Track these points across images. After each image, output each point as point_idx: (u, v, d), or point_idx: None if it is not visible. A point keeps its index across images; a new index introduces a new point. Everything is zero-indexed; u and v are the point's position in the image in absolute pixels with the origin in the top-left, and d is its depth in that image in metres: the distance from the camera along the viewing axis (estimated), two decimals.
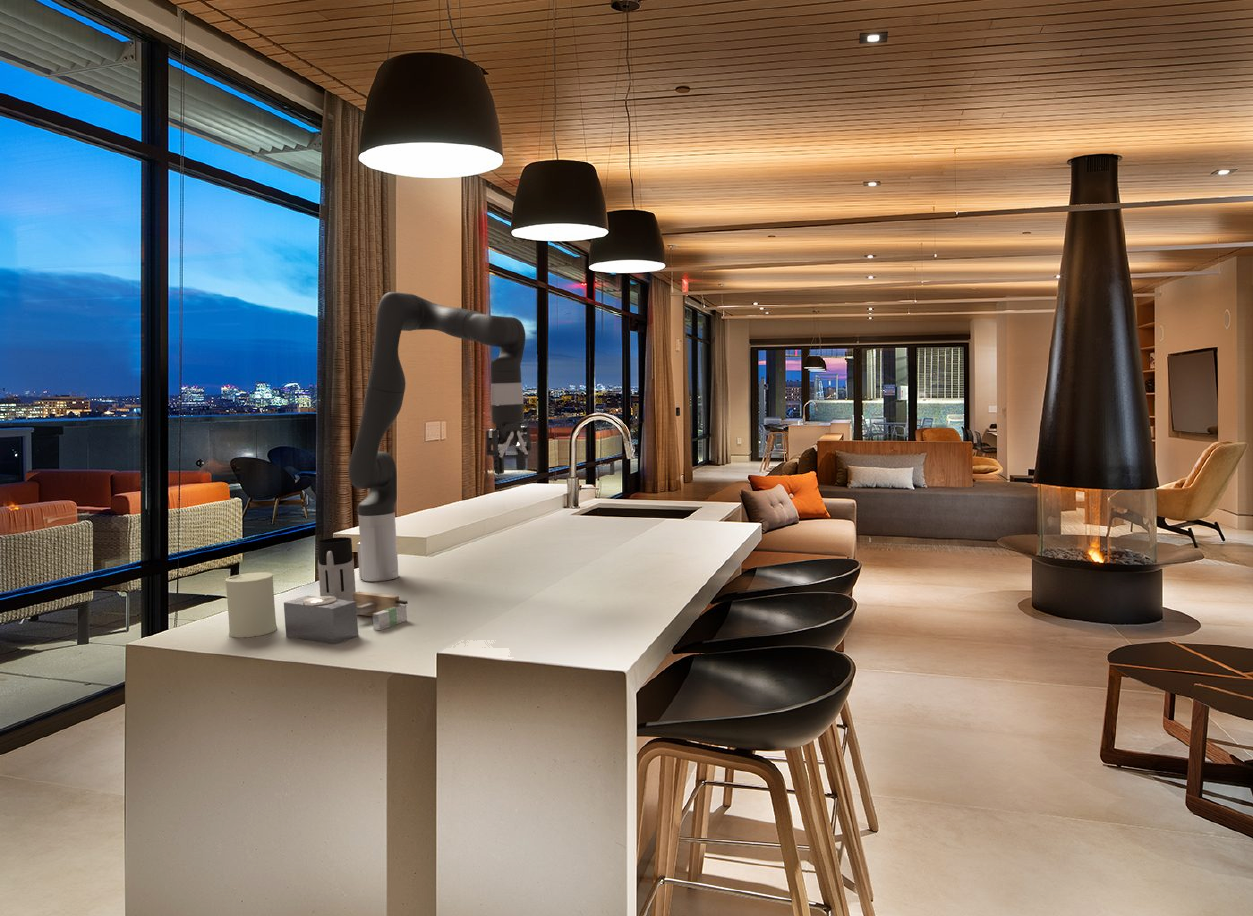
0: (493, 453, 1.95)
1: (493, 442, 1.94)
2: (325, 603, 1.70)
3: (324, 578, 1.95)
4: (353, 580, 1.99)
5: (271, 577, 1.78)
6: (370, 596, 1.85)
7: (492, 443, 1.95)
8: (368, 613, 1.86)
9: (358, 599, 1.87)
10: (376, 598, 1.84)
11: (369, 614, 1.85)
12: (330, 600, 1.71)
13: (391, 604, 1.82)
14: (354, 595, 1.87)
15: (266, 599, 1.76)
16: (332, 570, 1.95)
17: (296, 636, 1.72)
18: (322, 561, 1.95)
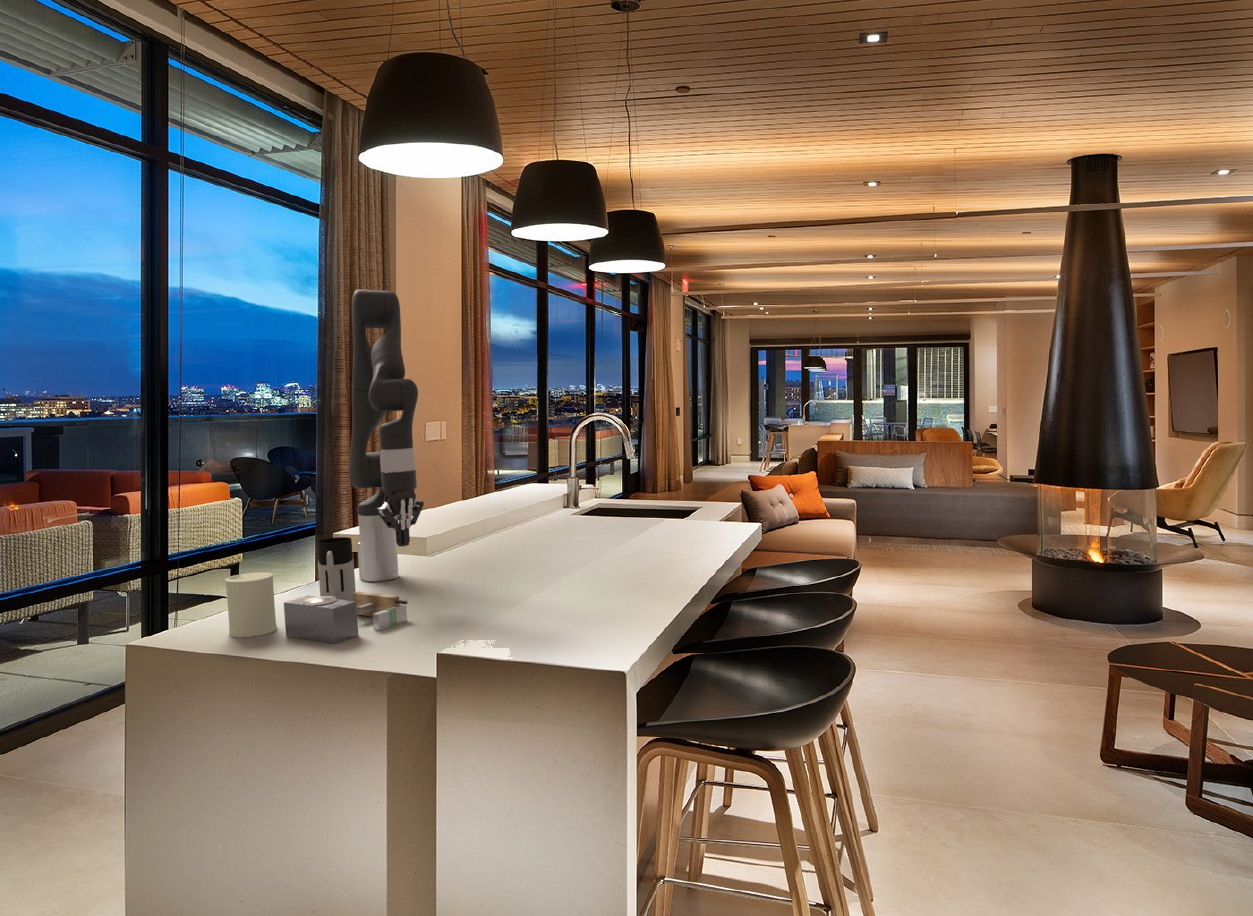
0: (394, 526, 1.89)
1: (389, 520, 1.87)
2: (325, 603, 1.70)
3: (324, 578, 1.95)
4: (353, 580, 1.99)
5: (271, 577, 1.78)
6: (370, 596, 1.85)
7: (389, 520, 1.88)
8: (368, 613, 1.86)
9: (358, 599, 1.87)
10: (376, 598, 1.84)
11: (369, 614, 1.85)
12: (330, 600, 1.71)
13: (391, 604, 1.82)
14: (354, 595, 1.87)
15: (266, 599, 1.76)
16: (332, 570, 1.95)
17: (296, 636, 1.72)
18: (322, 561, 1.95)
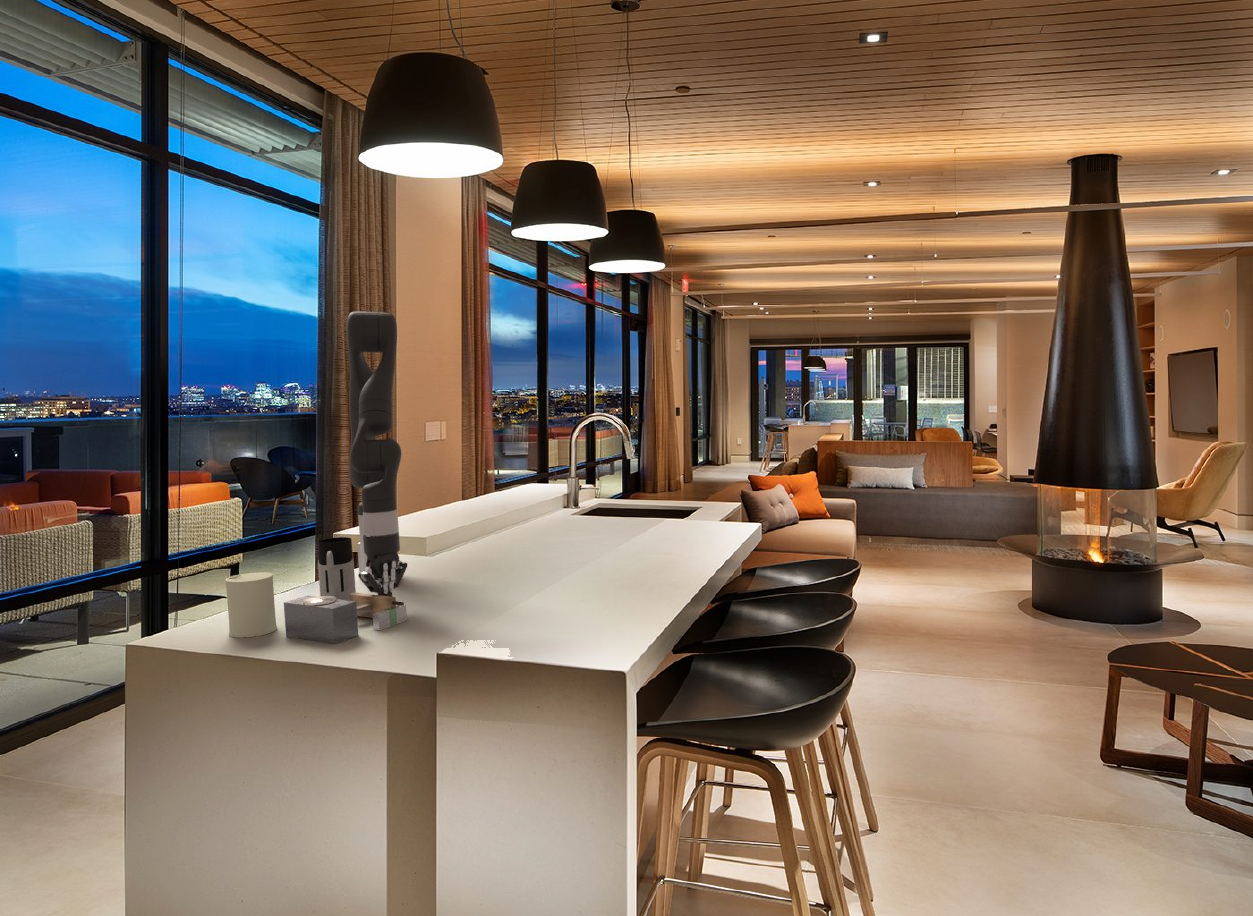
0: (376, 590, 1.84)
1: (371, 585, 1.83)
2: (325, 603, 1.70)
3: (324, 578, 1.95)
4: (353, 580, 1.99)
5: (271, 577, 1.78)
6: (367, 597, 1.84)
7: (371, 585, 1.83)
8: (365, 614, 1.85)
9: (355, 600, 1.86)
10: (373, 599, 1.83)
11: (366, 615, 1.85)
12: (330, 600, 1.71)
13: (388, 605, 1.81)
14: (350, 596, 1.86)
15: (266, 599, 1.76)
16: (332, 570, 1.95)
17: (296, 636, 1.72)
18: (322, 561, 1.95)
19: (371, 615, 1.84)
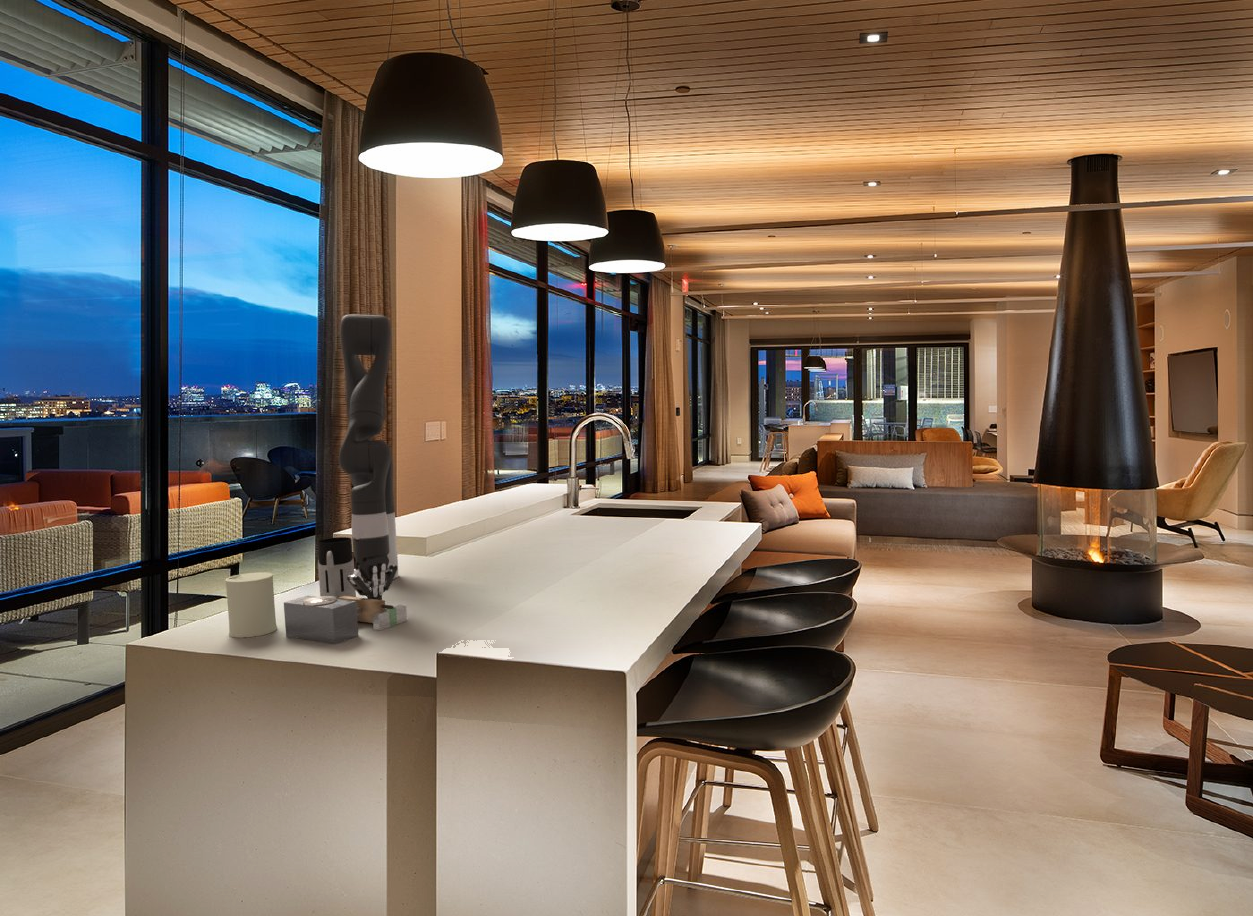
0: (365, 594, 1.81)
1: (360, 588, 1.80)
2: (325, 603, 1.70)
3: (324, 578, 1.95)
4: None
5: (271, 577, 1.78)
6: (356, 600, 1.81)
7: (360, 588, 1.80)
8: None
9: None
10: (362, 603, 1.80)
11: None
12: (330, 600, 1.71)
13: (377, 608, 1.78)
14: (340, 599, 1.84)
15: (266, 599, 1.76)
16: (332, 570, 1.95)
17: (296, 636, 1.72)
18: (322, 561, 1.95)
19: (361, 619, 1.81)
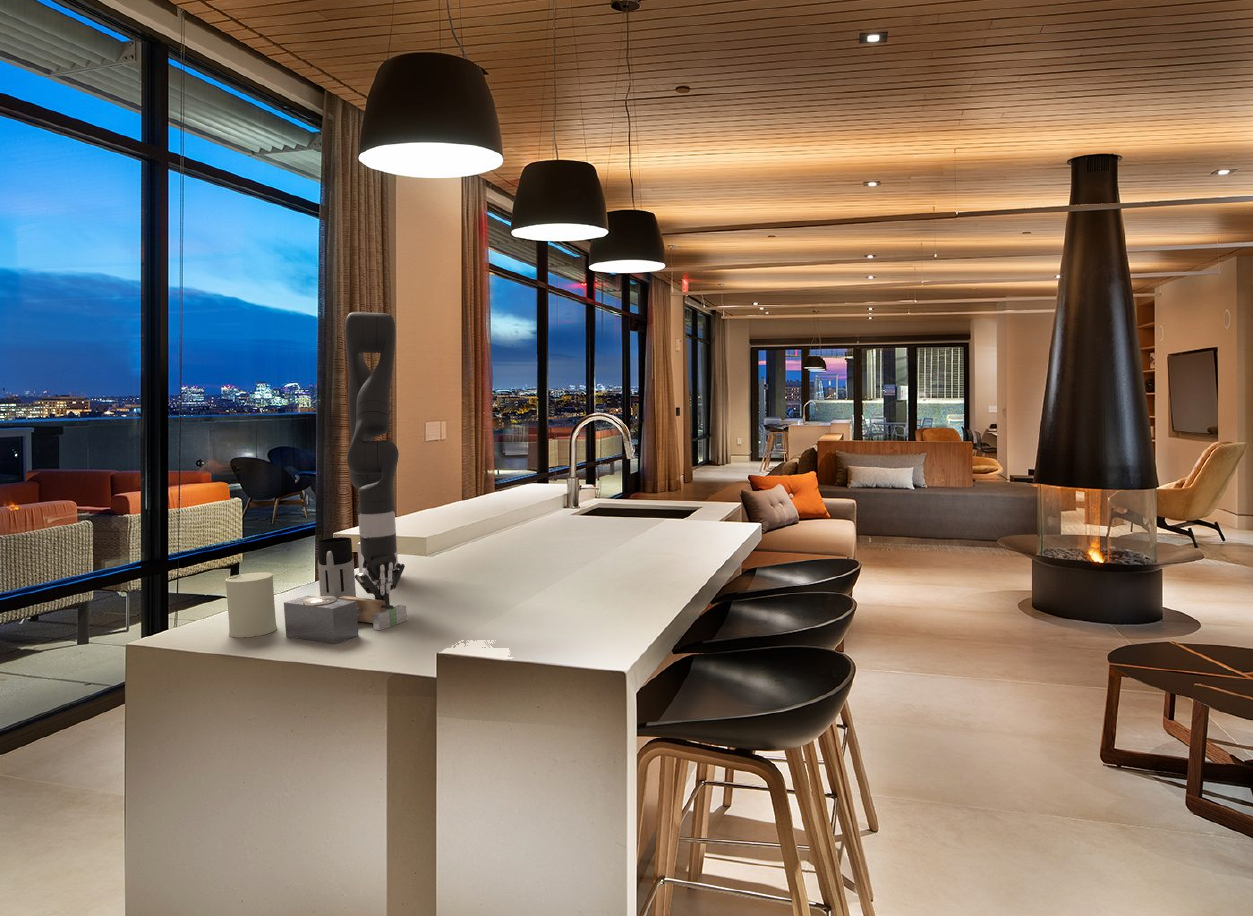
0: (373, 592, 1.84)
1: (368, 586, 1.82)
2: (325, 603, 1.70)
3: (324, 578, 1.95)
4: (353, 580, 1.99)
5: (271, 577, 1.78)
6: (356, 600, 1.81)
7: (367, 587, 1.83)
8: None
9: None
10: (362, 603, 1.80)
11: None
12: (330, 600, 1.71)
13: (377, 609, 1.78)
14: None
15: (266, 599, 1.76)
16: (332, 570, 1.95)
17: (296, 636, 1.72)
18: (322, 561, 1.95)
19: (360, 619, 1.81)
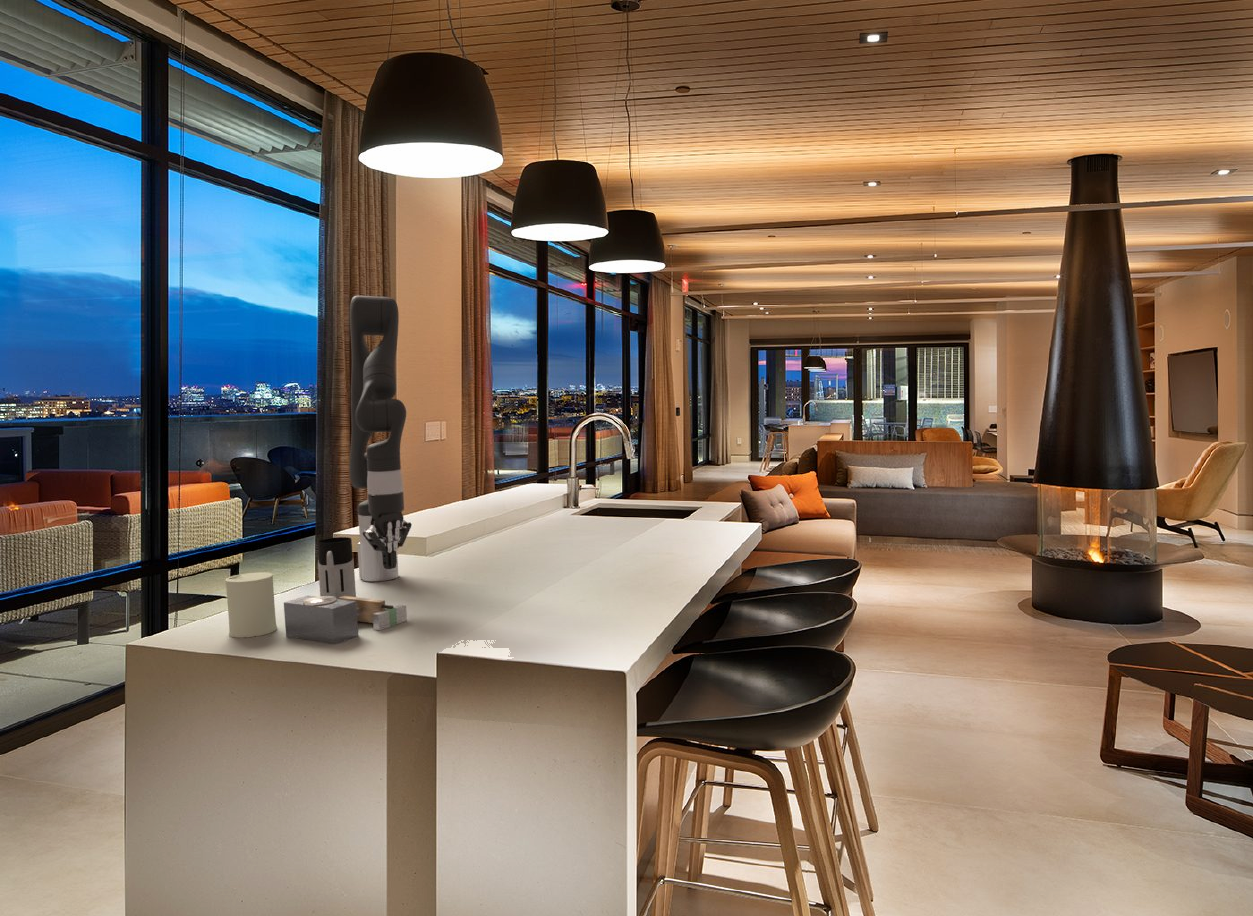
0: (380, 549, 1.86)
1: (375, 543, 1.84)
2: (325, 603, 1.70)
3: (324, 578, 1.95)
4: (353, 580, 1.99)
5: (271, 577, 1.78)
6: (356, 600, 1.81)
7: (375, 543, 1.85)
8: None
9: None
10: (362, 603, 1.80)
11: None
12: (330, 600, 1.71)
13: (377, 609, 1.78)
14: None
15: (266, 599, 1.76)
16: (332, 570, 1.95)
17: (296, 636, 1.72)
18: (322, 561, 1.95)
19: (360, 619, 1.81)
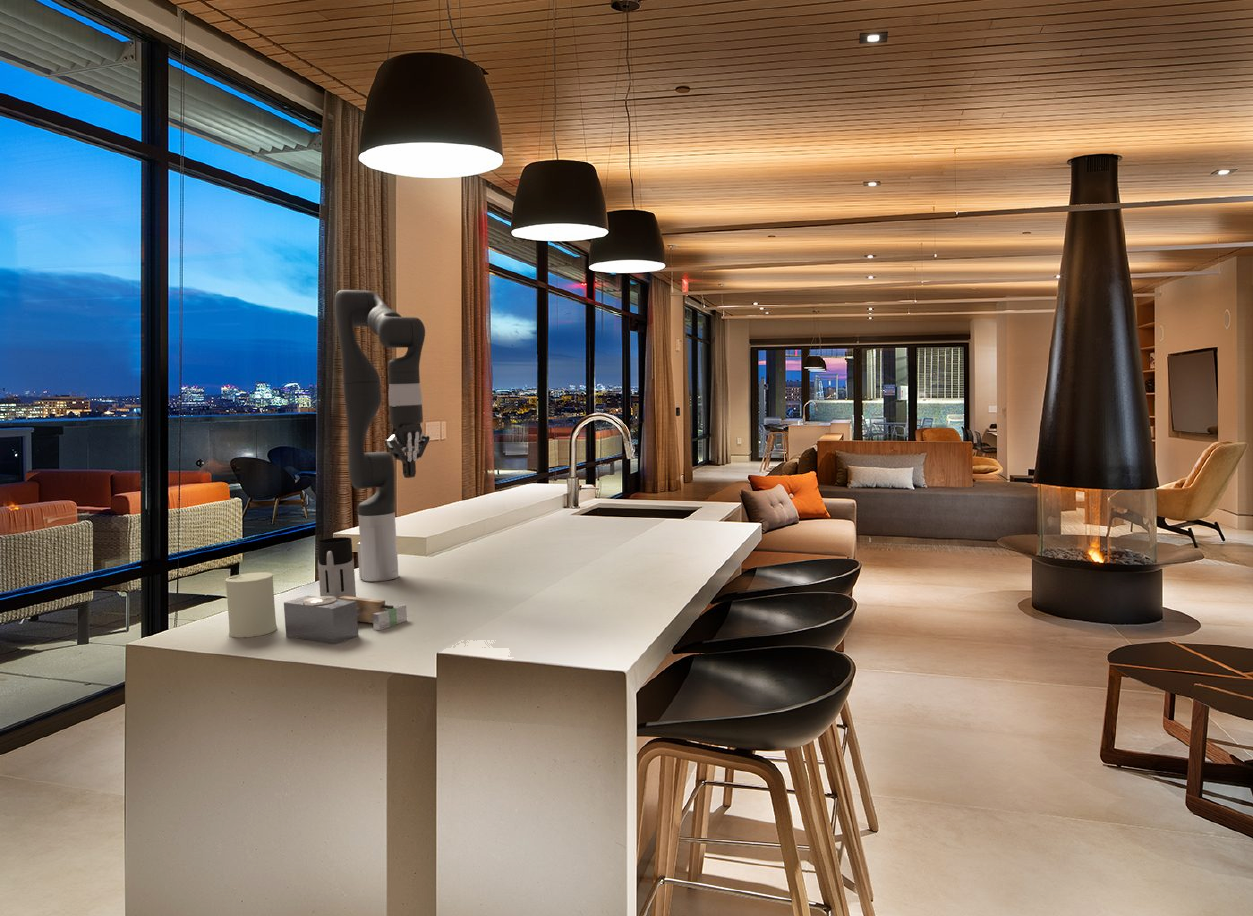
0: (401, 457, 1.98)
1: (396, 451, 1.96)
2: (325, 603, 1.70)
3: (324, 578, 1.95)
4: (353, 580, 1.99)
5: (271, 577, 1.78)
6: (356, 600, 1.81)
7: (396, 452, 1.96)
8: None
9: None
10: (362, 603, 1.80)
11: None
12: (330, 600, 1.71)
13: (377, 609, 1.78)
14: None
15: (266, 599, 1.76)
16: (332, 570, 1.95)
17: (296, 636, 1.72)
18: (322, 561, 1.95)
19: (360, 619, 1.81)
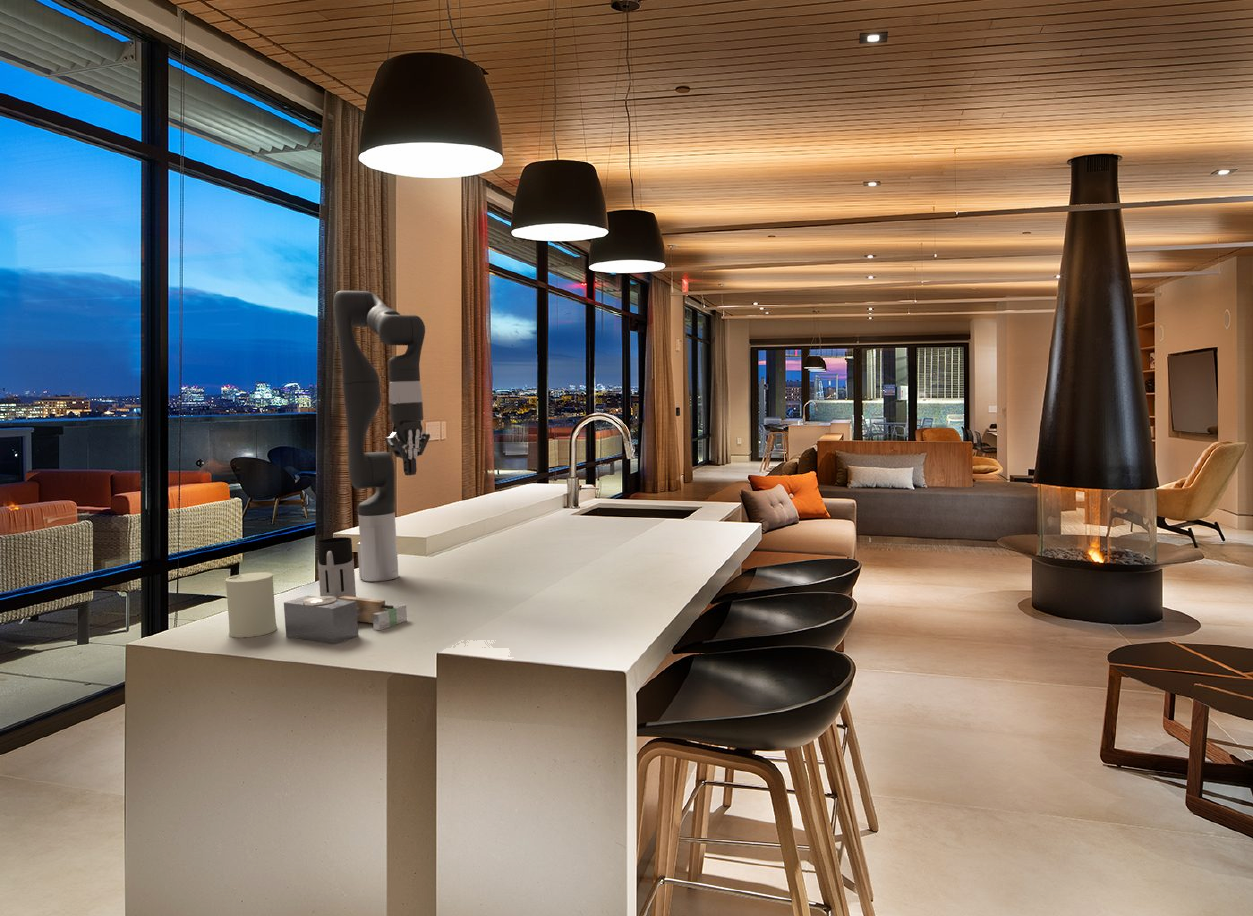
0: (401, 455, 1.98)
1: (397, 448, 1.96)
2: (325, 603, 1.70)
3: (324, 578, 1.95)
4: (353, 580, 1.99)
5: (271, 577, 1.78)
6: (356, 600, 1.81)
7: (397, 449, 1.97)
8: None
9: None
10: (362, 603, 1.80)
11: None
12: (330, 600, 1.71)
13: (377, 609, 1.78)
14: None
15: (266, 599, 1.76)
16: (332, 570, 1.95)
17: (296, 636, 1.72)
18: (322, 561, 1.95)
19: (360, 619, 1.81)
